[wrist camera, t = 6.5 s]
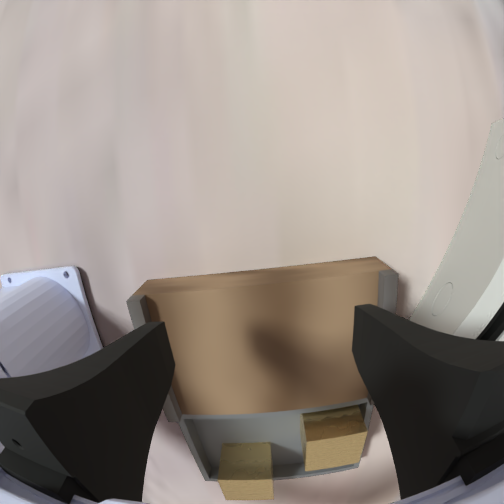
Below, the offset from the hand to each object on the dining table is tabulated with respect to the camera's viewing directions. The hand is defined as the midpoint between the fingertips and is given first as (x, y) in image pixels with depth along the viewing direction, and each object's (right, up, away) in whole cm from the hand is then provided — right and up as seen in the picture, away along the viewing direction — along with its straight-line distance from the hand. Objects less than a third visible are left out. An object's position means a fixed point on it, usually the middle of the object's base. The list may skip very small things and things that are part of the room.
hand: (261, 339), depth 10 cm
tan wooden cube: (+5, -8, +6) cm, 11 cm away
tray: (+2, -12, +10) cm, 16 cm away
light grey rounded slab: (+15, +5, +6) cm, 17 cm away
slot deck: (+1, -2, +8) cm, 8 cm away
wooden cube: (-1, -13, +8) cm, 15 cm away
